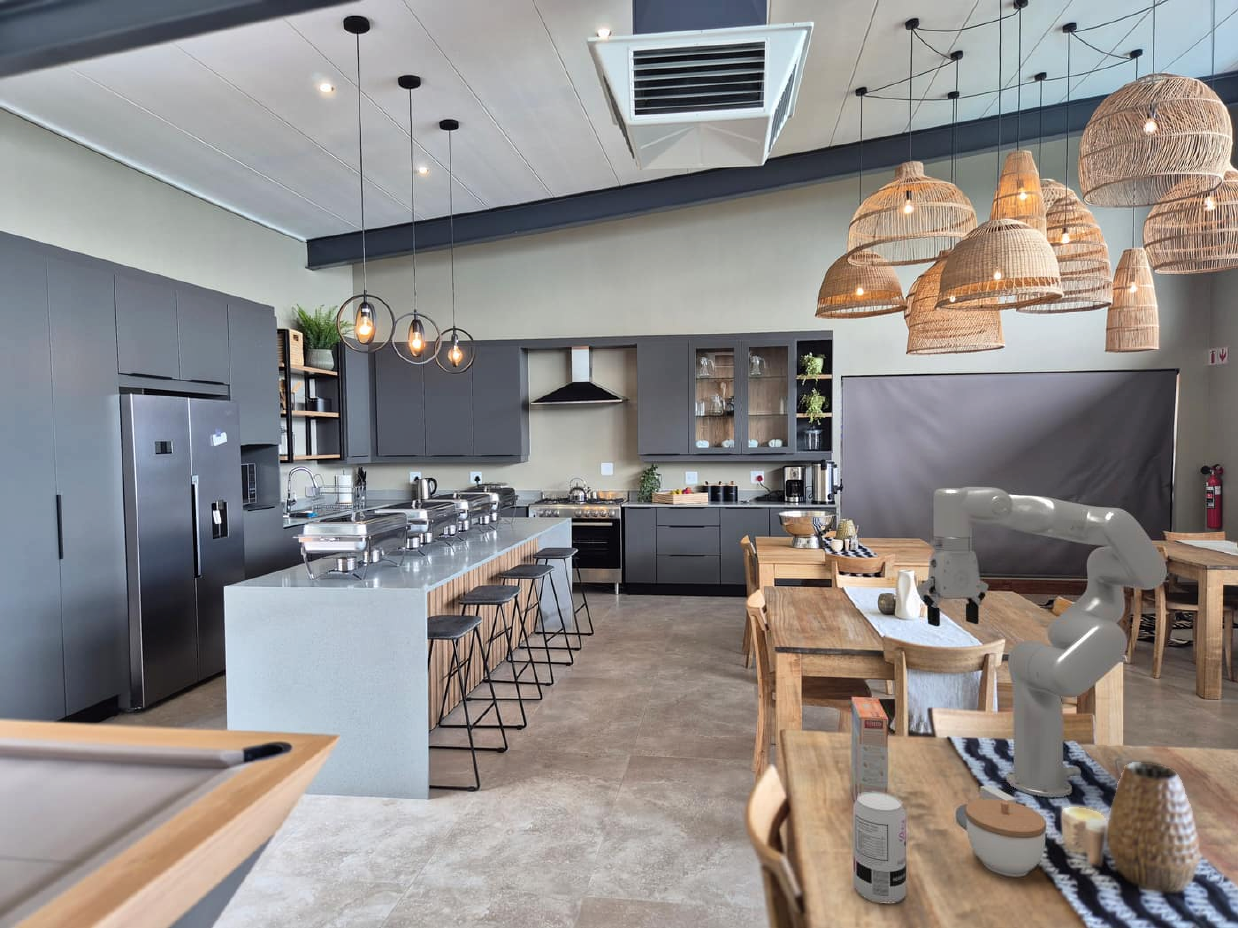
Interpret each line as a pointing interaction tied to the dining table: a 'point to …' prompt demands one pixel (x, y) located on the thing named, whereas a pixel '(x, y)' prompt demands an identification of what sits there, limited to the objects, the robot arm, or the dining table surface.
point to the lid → (985, 793)
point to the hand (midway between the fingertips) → (953, 623)
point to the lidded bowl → (1005, 835)
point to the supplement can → (879, 847)
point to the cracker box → (868, 747)
